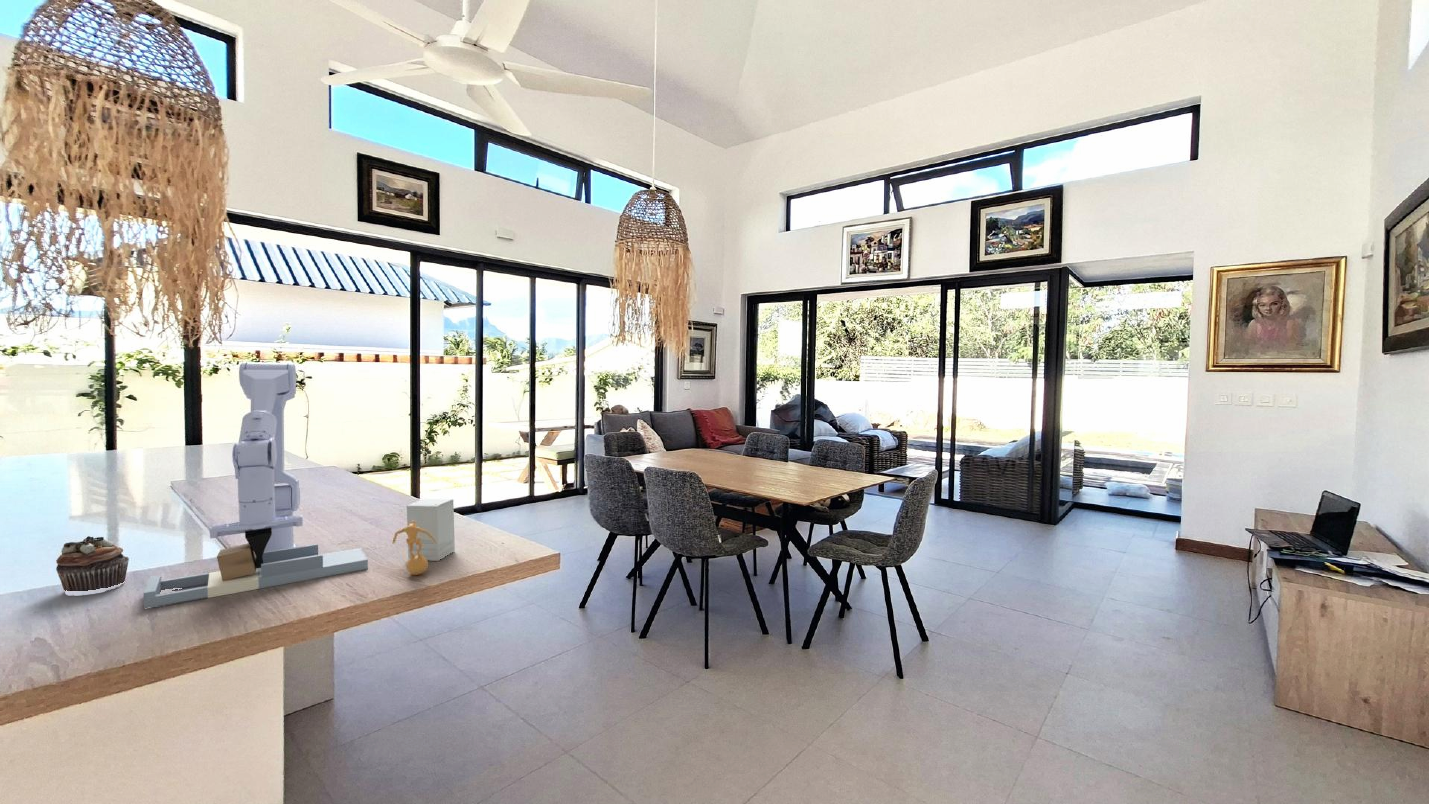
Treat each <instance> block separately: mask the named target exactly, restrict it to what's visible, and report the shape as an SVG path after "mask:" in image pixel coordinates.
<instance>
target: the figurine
mask: <svg viewBox="0 0 1429 804" xmlns="http://www.w3.org/2000/svg"><path fill="white" fill-rule="evenodd" d="M418 531H419V532H422V533H426V534H427V535H428V536H429V537H430V538H432V539H433V540H434V542H435V539H434V538H433V536H432V535H430V534H429V532H427V531H425V530H423V529H421V528H419V527H417V526H416V522H415V521H414V520H413V521H411V523H410V524H409V525H408V526H406V527H403V528H402V529H399V530H398V531H396V532H395V533H394V537H393V539H392V544H395V543H397V542H396V541H397V536H398V535H399V534H402V533H406V535H407V538H406V543H407V546H408V545H409V546H410V549H409V552H410V555H411V558H410V559H409V558H408V561H407V563H406V570H407V572H408V573H409V574H411V575H414V576H420V575H421V574H424V573H425V572H426V571H427V569H428V566H429V562H428V561H429V560H427V559H426V558H425V557H423V556H422V555H420V551H421V547H422V543H421V541H420V540H421V539H420V538H418V539H417V534H418ZM408 537H409V538H408ZM414 542H416V545H418V546H419V548H418V549H417V554H418V555H417V556H414V555H413V553H412V551H413V544H414ZM435 543H436V542H435Z"/></svg>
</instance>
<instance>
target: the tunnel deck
mask: <svg viewBox="0 0 1429 804" xmlns="http://www.w3.org/2000/svg"><path fill="white" fill-rule="evenodd" d="M262 557H263V564H261V568H257V569H256V572H255V573H253V574H249V575H245V576H241V577H238V578H234V579H230V580H226V581H222V577H221V572H220V570H218V571H212V572H210V571H209V572H203V573H196V574H192V575H186V576H180V577H174V578H167V579H166V578H165V579H162V574H160V575H155V576H154V575H152V576H149V579H148V581H147V584H146V587H145V589H144V591H143V606H144V607H143V608H148V607H156V606H161V607H164V606H163V605H167V606H170V605H169V604H172V605H177V604H176V603H178V604H182V603H189V602H192V601H198V600H204V599H205V600H206V599H210V598H214V597H220V596H221V597H222V596H226V595H227V596H228V595H231V594H236V593H237V594H238V593H242V592H248V591H253V590H254V591H255V590H257V589H258V590H259V589H265V588H268V587H269V588H271V587H275V586H281V585H285V584H291V583H296V582H297V583H298V582H303V581H308V580H313V579H318V578H319V579H320V578H324V577H325V578H326V577H330V576H335V575H340V574H346V573H350V572H351V573H352V572H357V571H362V570H367V569H369V566H368V565H369V562H368V558H367V556H366V555H365V553H364V551H363V550H362V548H361V547H357V548H352V549H345V550H340V551H333V552H327V553H320V554H319V544H318V543H314V544H313V543H312V544H306V545H301V546H296V547H292V548H285V549H279V550H272V551H266V552H264V553H263V556H262ZM173 588H182V589H179V590H178V589H175V590H172V591H175V592H170V593H164V594H160V592H161V590H165V589H173ZM156 608H157V607H156Z"/></svg>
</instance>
